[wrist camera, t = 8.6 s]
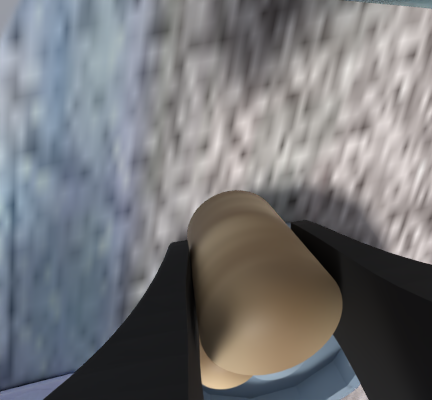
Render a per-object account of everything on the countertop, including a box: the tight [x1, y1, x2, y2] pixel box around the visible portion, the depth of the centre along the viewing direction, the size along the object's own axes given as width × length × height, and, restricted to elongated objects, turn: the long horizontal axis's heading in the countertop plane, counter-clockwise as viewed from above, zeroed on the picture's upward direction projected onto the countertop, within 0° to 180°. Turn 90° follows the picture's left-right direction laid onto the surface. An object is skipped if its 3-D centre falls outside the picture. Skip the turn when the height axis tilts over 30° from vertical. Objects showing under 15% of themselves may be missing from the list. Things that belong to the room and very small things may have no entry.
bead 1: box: [199, 336, 253, 389], centre depth 20 cm, size 4×4×5 cm
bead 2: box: [187, 190, 342, 375], centre depth 10 cm, size 4×4×5 cm
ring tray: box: [202, 222, 360, 400], centre depth 23 cm, size 20×20×4 cm
